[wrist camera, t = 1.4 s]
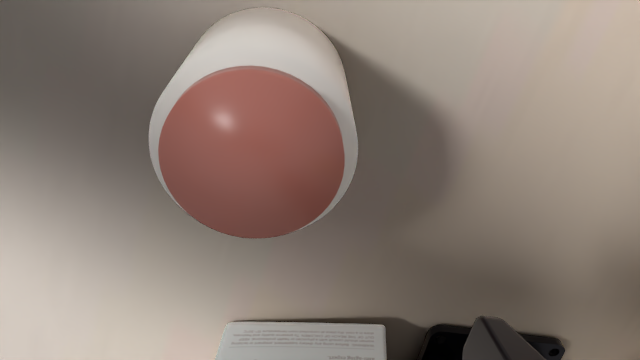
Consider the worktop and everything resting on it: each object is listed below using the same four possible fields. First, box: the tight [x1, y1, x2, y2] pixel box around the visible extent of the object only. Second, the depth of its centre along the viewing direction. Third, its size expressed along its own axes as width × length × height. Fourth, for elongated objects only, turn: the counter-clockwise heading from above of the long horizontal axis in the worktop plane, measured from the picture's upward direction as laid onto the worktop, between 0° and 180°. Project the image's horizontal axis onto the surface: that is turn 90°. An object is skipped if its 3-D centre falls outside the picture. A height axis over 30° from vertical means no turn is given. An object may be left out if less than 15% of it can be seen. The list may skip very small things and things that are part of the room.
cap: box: [148, 7, 358, 238], centre depth 16 cm, size 6×6×6 cm
